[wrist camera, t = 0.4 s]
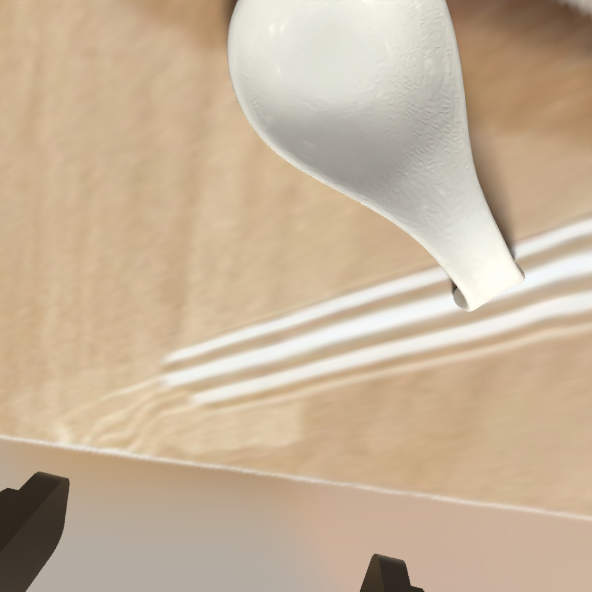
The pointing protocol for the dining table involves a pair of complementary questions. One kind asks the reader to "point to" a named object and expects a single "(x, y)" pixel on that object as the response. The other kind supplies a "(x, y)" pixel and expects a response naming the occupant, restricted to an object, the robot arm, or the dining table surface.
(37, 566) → the robot arm
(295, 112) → the spoon rest
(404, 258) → the dining table surface
